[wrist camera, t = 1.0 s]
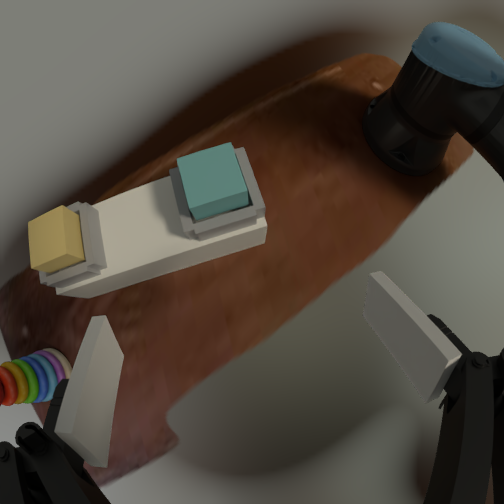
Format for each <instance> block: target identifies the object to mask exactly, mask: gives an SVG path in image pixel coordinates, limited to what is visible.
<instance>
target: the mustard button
mask: <svg viewBox="0 0 504 504" xmlns="http://www.w3.org/2000/svg"><path fill="white" fill-rule="evenodd" d="M28 234H29V249H30V261H31V269H35V270H39V271H43V272H47V273H52V272H55V271H57V270H60V269H62V268H65V267H67V266H70V265H73V264H75V263H78V262H80V261H83V260H85V257H84V251H83V244H82V237H81V229H80V220H79V215H78V214H76V213H74V212H73V211H71V210H69V209H68V208H66V207H65V206H63V205H62V206H59V207H57V208H55V209H53V210H51V211H49V212H47V213H45V214H43V215H42V216H39V217H38V218H36V219H34V220H32V221H30V222H28Z"/></svg>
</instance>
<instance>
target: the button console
mask: <svg viewBox="0 0 504 504" xmlns="http://www.w3.org/2000/svg"><path fill="white" fill-rule="evenodd" d="M232 147H233V146H232ZM233 150H234V153H235V155H236V158H237V161H238V164H239V167H240V170H241V173H242V176H243V178H244V181H245V184H246V187H247V190H248V205H246V206H242V207H239V208H236V209H232V210H229V211H226V212H223V213H220V214H216V215H213V216H210V217H207V218H204V219H201V220H196V219H195V217H194V216H193V214H192V212H191V211H190V209H189V206H188V202H187V198H186V194H185V190H184V187H183V183H182V179H181V175H180V170H179V166H178V167H176V168H173V169H170V170H169V173H170V176H168V177H165V178H162V179H159V180H156V181H154V182H151V183H148V184H145V185H143V186H140V187H137V188H135V189H132V190H130V191H127V192H124V193H122V194H119V195H117V196H114V197H112V198H109V199H107V200H104V201H102V202H100V203H97V204H95V205H93V206H91V205H89V204H88V203H84V204H81V203H80V202H76V203H74V204H72V205H70V206H68V207H66V208H68V209H69V210H71V211H73V212H74V213H76V214H78V215H79V220H80V229H81V237H82V244H83V251H84V257H85V260H83V261H80V262H78V263H75V264H73V265H70V266H67V267H65V268H62V269H60V270H57V271H55V272H52V273H47V272H43V271H39V276H40V283H41V284H45V285H47V286H51V287H56V293H57V295H64V296H72V297H81V298H92V297H95V296H98V295H101V294H105V293H108V292H111V291H114V290H117V289H120V288H123V287H127V286H130V285H133V284H136V283H139V282H142V281H145V280H149V279H152V278H155V277H158V276H161V275H164V274H168V273H171V272H174V271H177V270H180V269H183V268H187V267H190V266H193V265H196V264H199V263H203V262H206V261H209V260H212V259H215V258H218V257H222V256H225V255H228V254H231V253H234V252H238V251H241V250H244V249H247V248H250V247H254V246H257V245H260V244H263V243H265V238H266V231H267V223H266V220H265V217H264V215H265V205H264V202H263V199H262V196H261V193H260V191H259V188H258V185H257V182H256V179H255V177H254V174H253V171H252V168H251V166H250V163H249V160H248V157H247V155H246V152H245V149H244V147H241V148H238V149H234V147H233ZM177 165H178V163H177Z"/></svg>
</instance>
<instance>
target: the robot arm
mask: <svg viewBox="0 0 504 504" xmlns="http://www.w3.org/2000/svg"><path fill="white" fill-rule="evenodd" d="M362 126H363V132H364V135H365V138H366V140H367V142H368V144H369V145H370V147H371V148H372V150H373V151H374V152H375V154H376V155H377V156H378V157H379V158H380V159H381V160H382V161H383V162H385V163H386V164H387V165H389V166H390V167H392V168H393V169H395V170H397V171H399V172H401V173H404V174H407V175H412V176H422V175H426V174H428V173H430V172H431V171H432V170H434V169H435V168H436V167H437V166H438V165H439V164H440V163H441V161H442V160H443V158H444V155H445V152H446V150H447V148H448V145H449V142H450V140H451V137H452V136H453V135H454V134H455V133H456V132H458V133H459V134H460V135H461V136H462V137H463V138H464V139H465V140H466V141H468V142H469V144H470V145H471V146H472V147H473V148H474V149H475V150H477V152H478V153H479V154H481V156H482V157H483V158H484V159H485V160H486V161H487V162H488V163H489V164H490V165H491V166H492V167H493V169H494V170H495V171H496V172H497V173H498V174H499V175H500V176H501V177H502V179H503V181H504V61H503V59H502V58H501V57H500V56H499V55H497V54H496V51H495V50H494V49H493V48H492V47H491V46H490V45H488V44H487V43H486V42H484V41H483V40H482V39H481V38H479V37H478V36H476V35H475V34H473V33H471V32H469V31H468V30H466V29H463V28H461V27H459V26H456V25H453V24H449V23H445V22H434V23H431V24H428V25H427V26H426V27H425V28H424V29H423V31H422V32H421V34H420V35H419V37H418V39H417V40H415V41H414V42H413V45H412V50H411V52H410V54H409V56H408V58H407V60H406V61H405V63H404V65H403V67H402V69H401V70H400V72H399V74H398V76H397V77H396V79H395V81H394V83H393V85H392V86H391V87H390V88H389V89H387V90H386V91H384V92H383V93H381V94H380V95H379V96H377V97H376V98H374V99H373V100H372V101H371V102H370V104H369V105H368V107H367V109H366V111H365V113H364V115H363V120H362ZM363 317H364V318H365V320H366V321H367V322H368V324H369V325H370V326H371V328H372V329H373V330H374V332H375V333H376V334H377V336H378V337H379V338H380V339H381V341H382V342H383V344H384V345H385V347H386V348H387V349H388V351H389V352H390V353H391V355H392V356H393V358H394V359H395V360H396V362H397V363H398V365H399V366H400V367H401V369H402V370H403V371H404V373H405V374H406V376H407V377H408V379H409V380H410V382H411V383H412V384H413V386H414V387H415V389H416V390H417V392H418V393H419V395H420V396H421V398H422V399H423V400H424V402H425V403H428V402H430V401H432V400H434V399H436V398H438V397H439V396H440V394H441V392H442V390H443V389H444V390H445V391H446V392H447V394H446V396H445V397H444V399H443V400H442V402H441V404H440V406H439V409H441V407H442V406H443V404H444V409H443V417H442V424H441V430H440V436H439V442H438V447H437V452H436V457H435V462H434V466H433V470H432V474H431V478H430V482H429V486H428V489H427V493H426V497H425V500H424V503H423V504H485V500H486V495H487V489H488V483H489V476H490V468H491V466H492V477H493V493H494V504H504V348H503V349H502V351H501V353H500V355H498V356H493V357H487V356H486V355H485V354H483V353H480V352H471V351H470V350H469V349H468V348H467V347H466V346H465V345H464V344H463V343H462V341H460V339H459V338H458V337H457V336H456V335H455V334H454V333H452V331H451V330H450V329H449V328H447V326H446V325H445V324H444V323H443V322H442V321H441V320H440V319H439V318H437V317H435V316H433V315H432V314H430V315H427V316H426V315H425V314H424V313H423V312H422V311H421V309H420V308H418V306H417V305H416V304H415V303H414V302H413V301H411V299H410V298H409V297H407V295H405V293H404V292H403V291H402V290H400V288H399V287H397V286H396V285H395V284H394V283H393V282H392V281H391V280H390V279H389V278H388V277H387V276H386V275H385V274H384V273H383V272H382V271H379V272H374V273H370V274H369V279H368V286H367V293H366V299H365V305H364V311H363ZM123 358H124V355H123V353H122V351H121V349H120V347H119V345H118V342H117V340H116V338H115V336H114V334H113V331H112V329H111V327H110V324H109V322H108V320H107V317H106V315H104V316H94V317H92V318H91V321H90V323H89V326H88V328H87V331H86V334H85V336H84V339H83V341H82V344H81V347H80V350H79V352H78V355H77V358H76V361H75V364H74V366H73V369H72V372H71V375H70V378H69V379H61V381H60V382H59V383H58V385H57V386H56V387H55V390H54V393H53V396H52V397H53V399H52V400H51V403H50V406H49V409H48V412H47V416H46V419H45V423H44V426H43V429H42V428H41V427H40V426H39V425H38V424H36V423H34V422H27V423H24V424H23V425H22V426H20V427H19V429H18V431H17V432H16V437H15V439H16V443H17V444H18V445H19V446H20V447H17V448H15V447H14V446H12V444H10V443H9V442H5V441H4V442H0V504H111V503H110V502H109V500H108V499H107V498H106V497H105V495H104V494H103V493H102V491H101V490H100V489H99V487H98V486H97V485H96V483H95V482H94V480H93V479H92V478H91V476H90V475H89V473H88V472H87V470H86V469H85V468H84V467H83V464H84V460H85V461H86V462H87V463H88V464H89V465H90V466H97V467H107V463H108V453H109V444H110V436H111V428H112V421H113V414H114V408H115V401H116V395H117V390H118V384H119V378H120V373H121V368H122V363H123Z"/></svg>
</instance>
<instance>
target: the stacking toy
mask: <svg viewBox="0 0 504 504" xmlns="http://www.w3.org/2000/svg"><path fill="white" fill-rule="evenodd" d="M71 372H72V367H71V365H70V363H69V361H68V360H67V359H66V357H65V356H64V355H63V354H62V353H60V352H59V351H57V350H55V349H52V348H46V349H43V350H39V351H36V352H34V353H33V354H30V355H28V356H24V357H21V358H19V359H15V360H12V361H11V362H4V363H3V364H1V366H0V406H1V404H2V405H5V406H10V405H13V404H14V403H15V404H21V403H32V402H34V403H38V402H41V401H49V400H51V399H53V397H52V396H53V393H54V390H55V387H56V386H57V385H58V383H59V382H60V381H61V379H69V378H70V375H71Z"/></svg>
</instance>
